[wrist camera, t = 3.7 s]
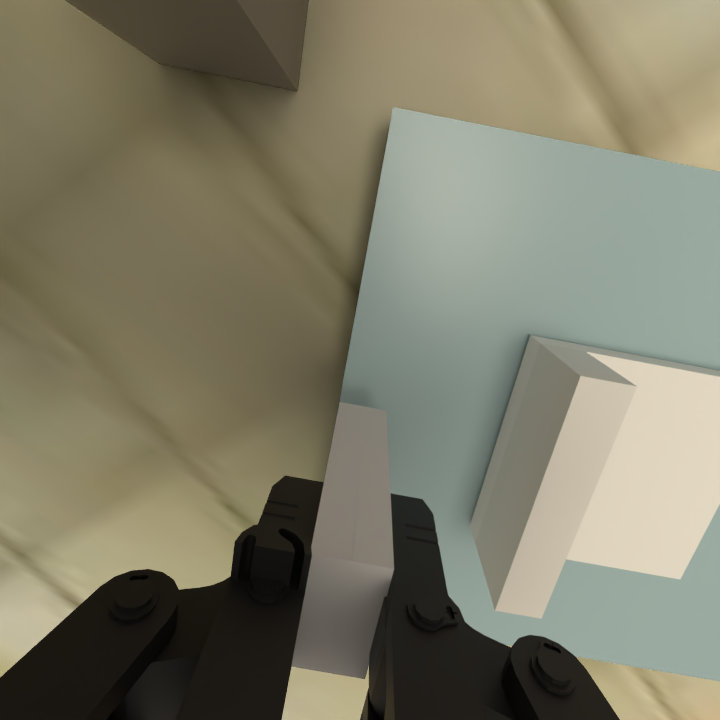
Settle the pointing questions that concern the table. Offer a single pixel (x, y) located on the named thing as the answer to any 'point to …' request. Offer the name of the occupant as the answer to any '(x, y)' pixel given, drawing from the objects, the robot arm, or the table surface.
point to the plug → (212, 35)
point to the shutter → (597, 470)
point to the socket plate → (510, 338)
